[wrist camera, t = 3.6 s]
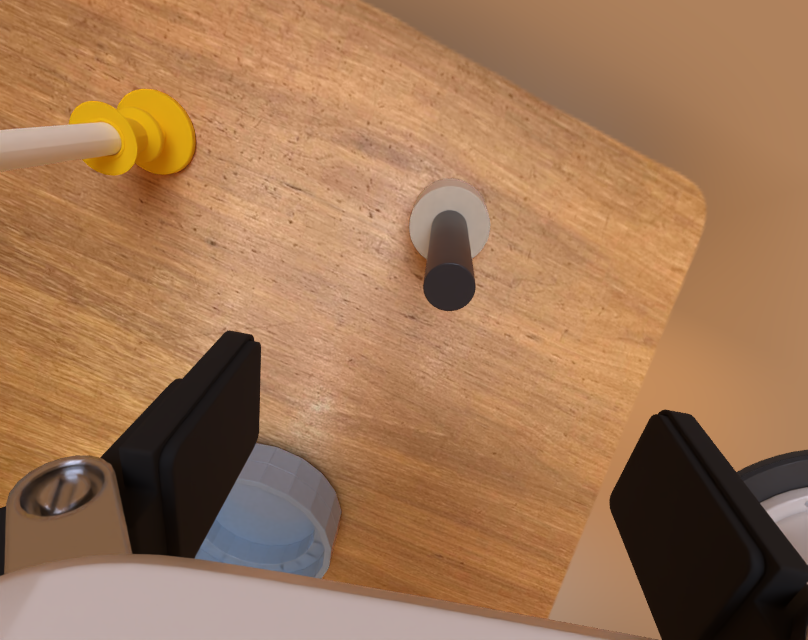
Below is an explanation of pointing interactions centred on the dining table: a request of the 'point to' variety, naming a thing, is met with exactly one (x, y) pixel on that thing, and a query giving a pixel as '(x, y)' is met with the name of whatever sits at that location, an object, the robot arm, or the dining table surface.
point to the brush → (449, 240)
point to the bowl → (276, 517)
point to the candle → (109, 137)
